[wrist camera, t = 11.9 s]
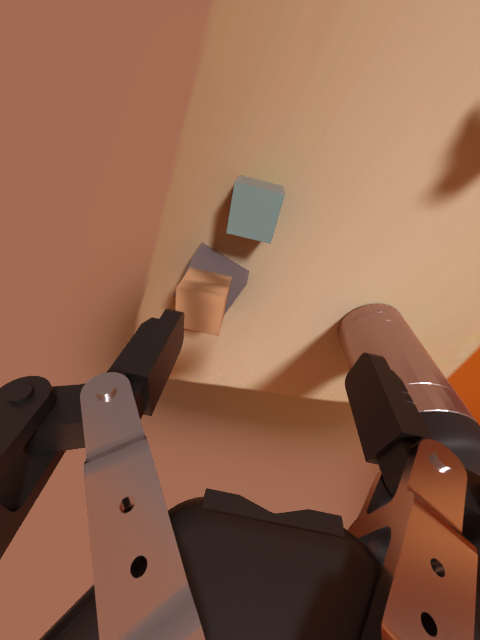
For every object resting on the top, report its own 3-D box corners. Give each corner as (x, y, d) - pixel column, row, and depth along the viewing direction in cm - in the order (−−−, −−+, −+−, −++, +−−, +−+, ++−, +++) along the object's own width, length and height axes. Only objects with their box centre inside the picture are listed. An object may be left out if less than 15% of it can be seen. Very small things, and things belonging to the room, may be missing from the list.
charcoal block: (249, 270, 34) (246, 284, 31) (224, 305, 39) (219, 320, 35) (202, 241, 33) (194, 253, 29) (181, 282, 37) (173, 296, 34)
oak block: (231, 276, 31) (225, 299, 26) (225, 310, 34) (218, 336, 30) (189, 267, 31) (176, 288, 26) (187, 302, 34) (174, 326, 30)
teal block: (283, 185, 27) (284, 194, 23) (271, 229, 30) (270, 243, 26) (240, 175, 27) (234, 182, 23) (232, 220, 30) (226, 232, 26)
